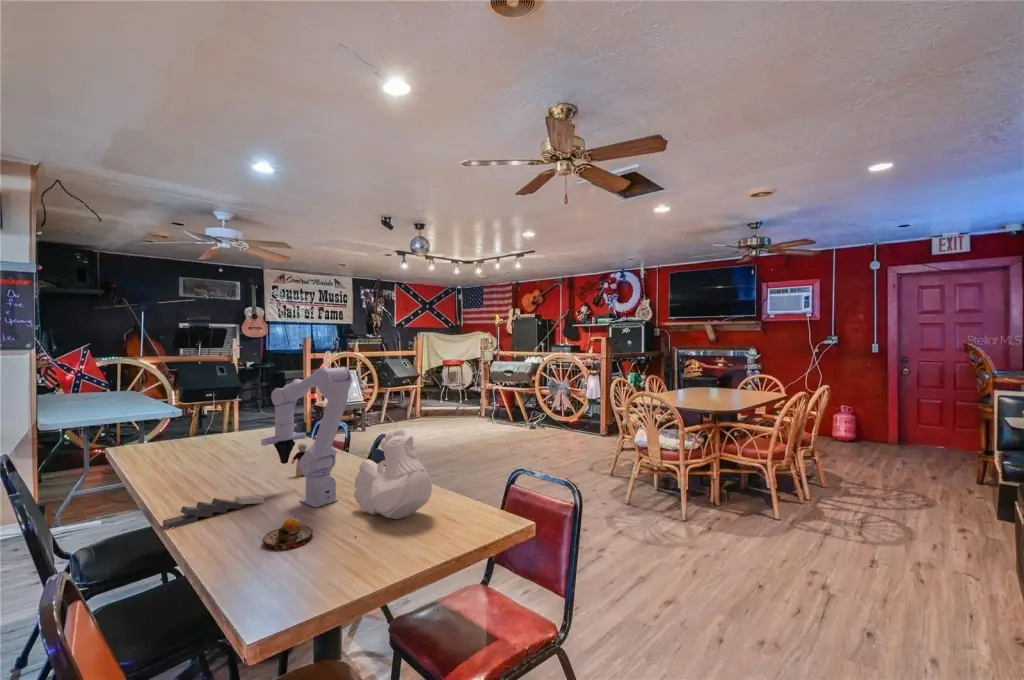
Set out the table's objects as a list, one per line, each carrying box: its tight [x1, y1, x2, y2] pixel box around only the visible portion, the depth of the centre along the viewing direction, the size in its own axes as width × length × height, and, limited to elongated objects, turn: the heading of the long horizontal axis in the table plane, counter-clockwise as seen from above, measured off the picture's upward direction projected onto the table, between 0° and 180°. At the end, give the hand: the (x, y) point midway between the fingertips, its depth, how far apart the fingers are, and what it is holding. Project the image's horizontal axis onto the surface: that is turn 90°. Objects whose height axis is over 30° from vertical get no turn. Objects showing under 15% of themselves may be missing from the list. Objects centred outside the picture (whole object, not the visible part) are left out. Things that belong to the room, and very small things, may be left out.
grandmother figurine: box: [290, 442, 308, 478], centre depth 177 cm, size 8×4×13 cm, turn 143°
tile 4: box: [162, 514, 199, 530], centre depth 131 cm, size 4×2×7 cm
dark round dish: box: [261, 514, 314, 552], centre depth 121 cm, size 12×12×8 cm
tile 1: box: [210, 497, 243, 510], centre depth 141 cm, size 4×2×7 cm
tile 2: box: [195, 501, 229, 514], centre depth 138 cm, size 4×2×7 cm
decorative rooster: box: [353, 427, 433, 520], centre depth 141 cm, size 25×16×25 cm
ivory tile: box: [233, 495, 265, 505], centre depth 146 cm, size 4×2×7 cm
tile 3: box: [180, 506, 214, 518], centre depth 135 cm, size 4×2×7 cm
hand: (284, 463), depth 158 cm, fingers closed
